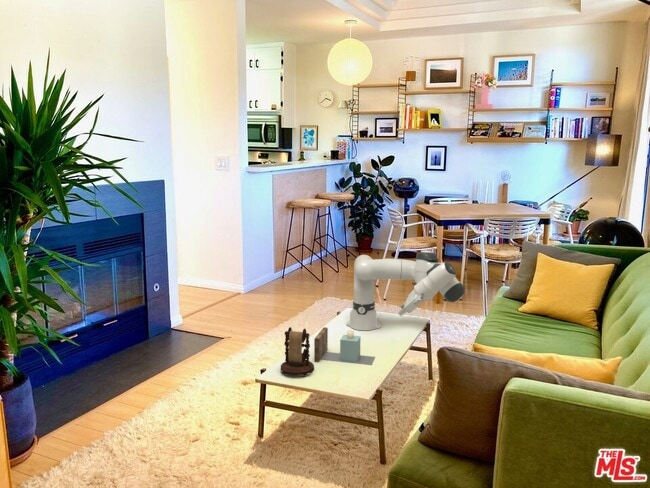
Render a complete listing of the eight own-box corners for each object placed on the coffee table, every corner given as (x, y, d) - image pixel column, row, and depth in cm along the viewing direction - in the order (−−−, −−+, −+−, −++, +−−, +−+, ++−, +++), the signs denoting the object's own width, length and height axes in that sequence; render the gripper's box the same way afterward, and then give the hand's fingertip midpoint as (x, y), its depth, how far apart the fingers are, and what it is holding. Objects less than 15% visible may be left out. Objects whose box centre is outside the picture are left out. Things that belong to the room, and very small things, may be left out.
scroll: (275, 376, 233) (275, 332, 229) (287, 363, 247) (286, 321, 243) (308, 380, 229) (308, 335, 226) (318, 366, 243) (317, 324, 240)
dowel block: (343, 354, 254) (343, 328, 252) (360, 356, 252) (360, 330, 250) (340, 360, 248) (340, 333, 245) (357, 362, 246) (357, 335, 243)
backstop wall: (323, 350, 262) (323, 327, 259) (327, 351, 261) (327, 327, 259) (314, 363, 246) (314, 338, 244) (318, 364, 246) (318, 339, 244)
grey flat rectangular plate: (325, 353, 258) (325, 351, 258) (375, 358, 252) (375, 356, 252) (320, 361, 249) (320, 359, 249) (371, 367, 243) (371, 365, 242)
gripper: (427, 303, 226) (403, 323, 230) (430, 290, 245) (407, 309, 249) (416, 292, 226) (392, 312, 230) (420, 280, 246) (398, 299, 250)
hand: (400, 311), depth 240 cm, fingers open, 8 cm apart
